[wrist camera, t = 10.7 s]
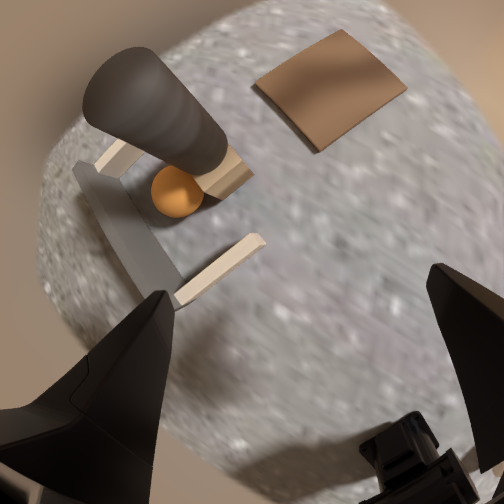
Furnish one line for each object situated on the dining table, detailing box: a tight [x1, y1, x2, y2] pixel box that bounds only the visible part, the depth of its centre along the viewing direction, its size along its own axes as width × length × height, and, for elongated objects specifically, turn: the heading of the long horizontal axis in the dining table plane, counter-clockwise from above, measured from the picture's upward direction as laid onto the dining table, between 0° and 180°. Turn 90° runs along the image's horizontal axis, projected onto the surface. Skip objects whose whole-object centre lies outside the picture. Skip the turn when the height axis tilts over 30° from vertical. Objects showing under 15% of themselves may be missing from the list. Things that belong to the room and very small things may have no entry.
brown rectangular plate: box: [255, 29, 407, 152], centre depth 20 cm, size 8×10×1 cm
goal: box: [72, 139, 266, 312], centre depth 20 cm, size 14×8×5 cm, turn 37°
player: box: [83, 47, 254, 200], centre depth 15 cm, size 5×4×13 cm
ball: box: [151, 165, 204, 218], centre depth 21 cm, size 4×4×4 cm
